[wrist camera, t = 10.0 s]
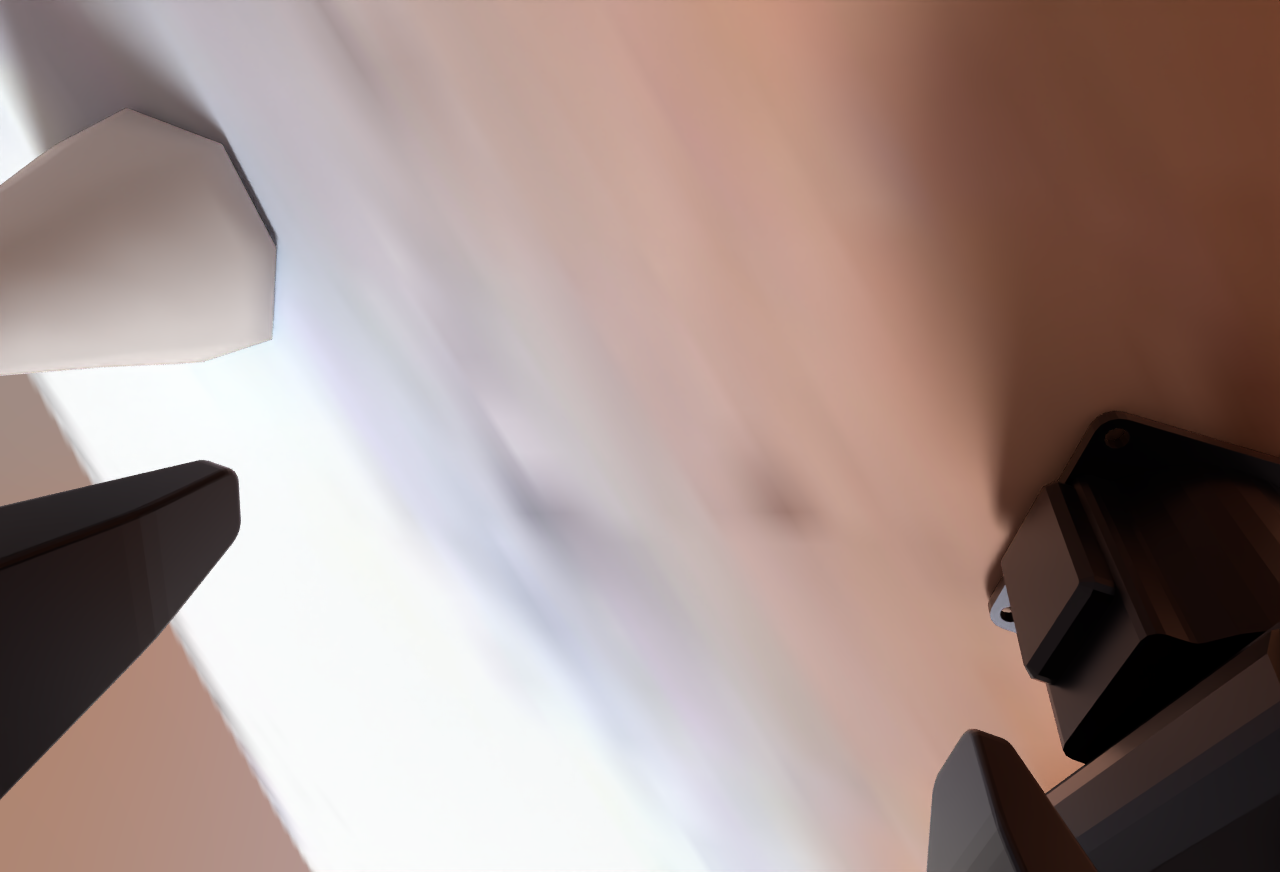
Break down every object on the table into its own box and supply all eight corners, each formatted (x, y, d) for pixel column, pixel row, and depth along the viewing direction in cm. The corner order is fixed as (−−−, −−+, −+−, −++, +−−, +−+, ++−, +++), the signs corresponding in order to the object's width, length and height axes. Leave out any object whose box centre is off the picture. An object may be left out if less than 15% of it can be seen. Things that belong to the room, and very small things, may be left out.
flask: (28, 108, 22) (-500, 165, 14) (249, 105, 21) (-198, 169, 12) (115, 351, 26) (-268, 519, 17) (311, 366, 24) (-4, 562, 15)
